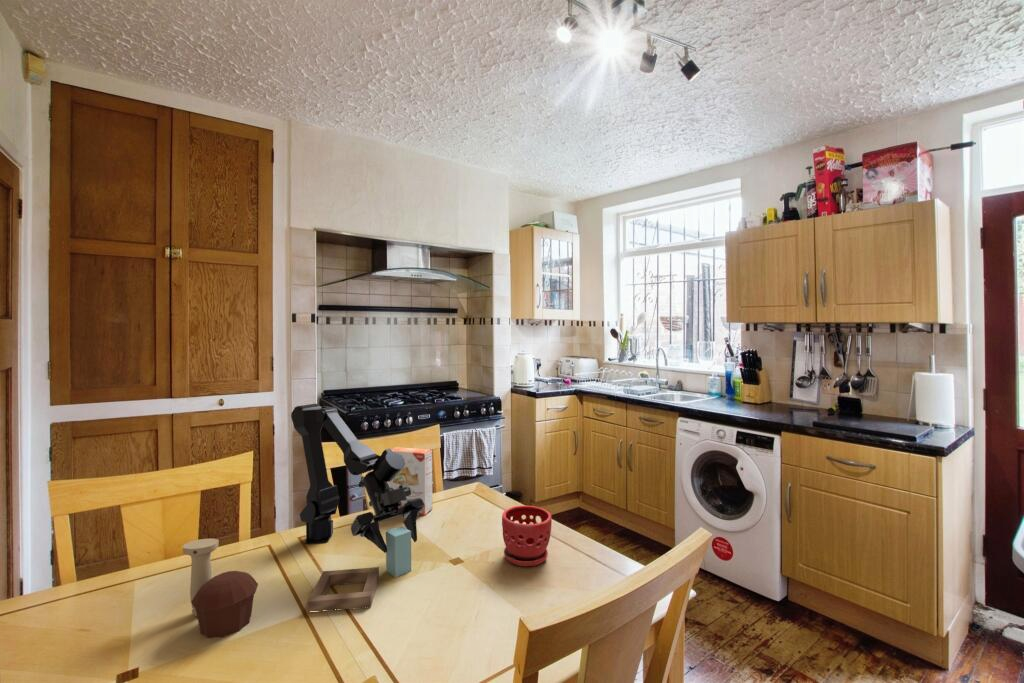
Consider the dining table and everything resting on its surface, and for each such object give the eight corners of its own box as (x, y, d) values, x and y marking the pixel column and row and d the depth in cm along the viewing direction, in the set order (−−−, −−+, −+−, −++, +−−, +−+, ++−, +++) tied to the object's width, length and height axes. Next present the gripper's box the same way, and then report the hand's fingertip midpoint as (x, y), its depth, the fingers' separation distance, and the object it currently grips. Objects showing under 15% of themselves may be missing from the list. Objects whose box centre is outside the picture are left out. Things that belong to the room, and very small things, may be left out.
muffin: (240, 602, 103) (239, 558, 103) (270, 617, 98) (269, 570, 98) (180, 631, 93) (179, 582, 93) (209, 650, 88) (208, 597, 88)
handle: (212, 618, 98) (211, 547, 97) (179, 621, 97) (178, 549, 97) (223, 605, 102) (222, 537, 102) (191, 608, 101) (190, 539, 101)
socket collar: (307, 613, 99) (307, 601, 99) (323, 581, 112) (323, 571, 112) (370, 607, 101) (370, 596, 101) (379, 577, 114) (378, 567, 114)
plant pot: (496, 568, 118) (496, 521, 118) (509, 545, 131) (508, 503, 131) (547, 573, 115) (546, 525, 115) (555, 550, 128) (554, 506, 128)
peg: (386, 570, 117) (385, 531, 117) (401, 564, 120) (401, 526, 120) (395, 577, 114) (395, 536, 114) (411, 570, 117) (411, 531, 117)
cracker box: (387, 512, 157) (386, 450, 157) (396, 505, 163) (396, 446, 162) (424, 516, 153) (424, 452, 153) (433, 509, 159) (432, 448, 158)
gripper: (355, 483, 113) (378, 542, 105) (420, 467, 126) (445, 519, 118) (341, 507, 119) (362, 565, 111) (405, 490, 132) (428, 540, 124)
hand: (401, 546), depth 116 cm, fingers open, 8 cm apart
